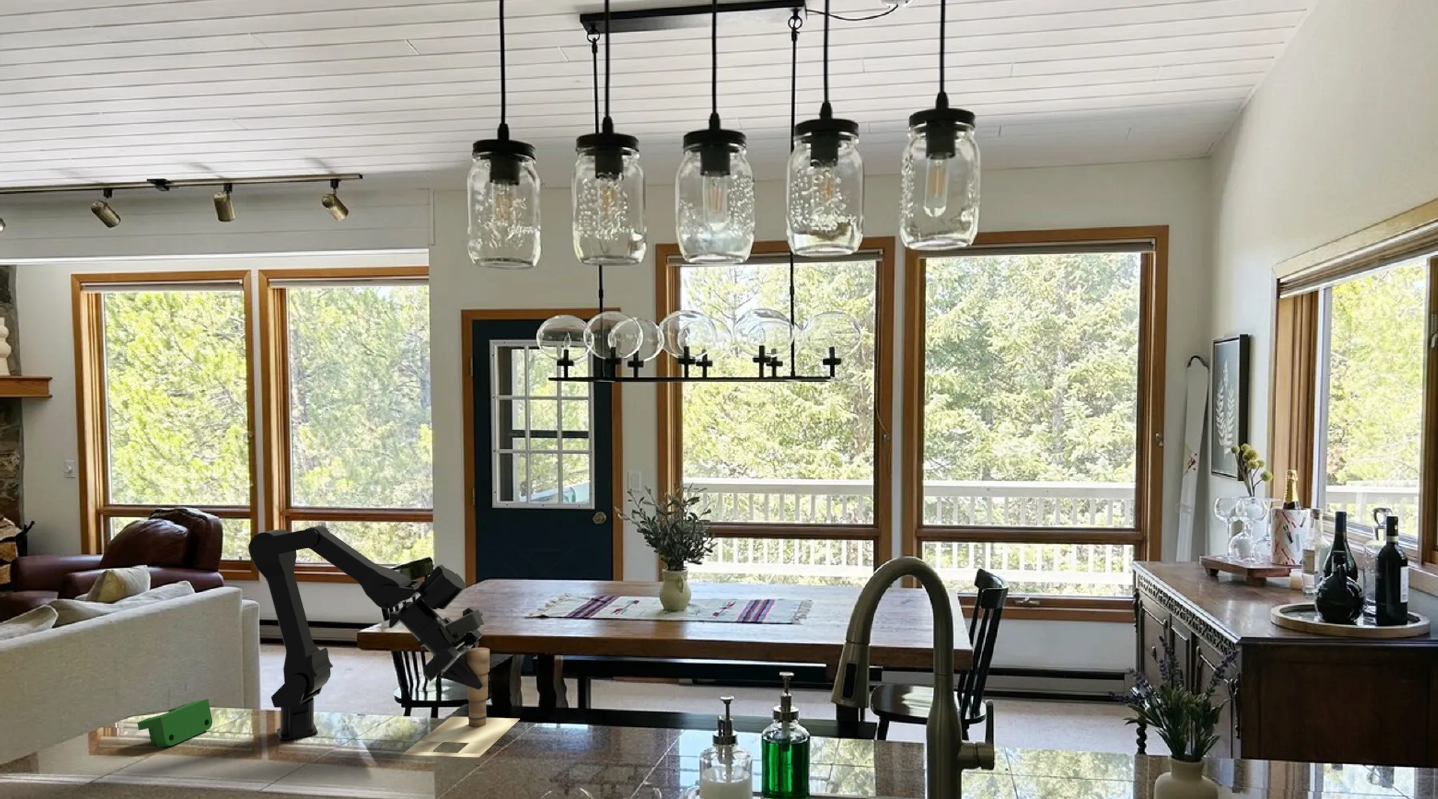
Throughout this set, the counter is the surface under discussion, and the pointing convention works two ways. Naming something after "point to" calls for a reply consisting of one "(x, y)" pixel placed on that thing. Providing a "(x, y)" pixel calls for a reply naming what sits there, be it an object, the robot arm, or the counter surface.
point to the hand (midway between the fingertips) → (484, 684)
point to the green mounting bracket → (178, 723)
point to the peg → (477, 698)
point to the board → (463, 737)
